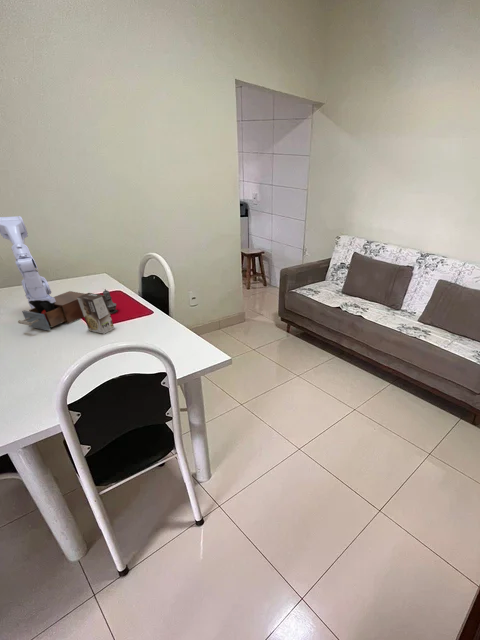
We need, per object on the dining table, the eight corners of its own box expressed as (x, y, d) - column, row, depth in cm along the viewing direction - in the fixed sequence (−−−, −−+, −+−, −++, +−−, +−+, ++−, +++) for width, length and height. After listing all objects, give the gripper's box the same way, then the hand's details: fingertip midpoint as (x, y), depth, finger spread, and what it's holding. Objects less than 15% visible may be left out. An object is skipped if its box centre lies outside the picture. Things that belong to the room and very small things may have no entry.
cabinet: (69, 323, 153) (61, 305, 148) (48, 319, 156) (40, 301, 151) (95, 311, 166) (89, 294, 161) (75, 307, 168) (69, 291, 163)
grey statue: (113, 314, 163) (106, 291, 157) (102, 313, 164) (95, 290, 157) (120, 310, 168) (114, 287, 161) (110, 308, 169) (103, 286, 162)
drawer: (37, 335, 141) (30, 319, 137) (17, 330, 143) (10, 315, 139) (75, 317, 156) (70, 303, 152) (57, 314, 159) (51, 300, 155)
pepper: (51, 317, 153) (46, 305, 150) (58, 319, 151) (53, 307, 148) (41, 320, 149) (36, 308, 146) (48, 322, 148) (43, 310, 145)
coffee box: (115, 328, 150) (105, 295, 142) (103, 334, 145) (92, 299, 136) (99, 325, 153) (88, 292, 144) (88, 330, 147) (76, 296, 139)
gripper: (13, 287, 140) (27, 316, 147) (39, 291, 137) (52, 321, 144) (29, 282, 146) (41, 310, 153) (54, 286, 142) (66, 315, 150)
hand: (47, 315), depth 149 cm, fingers closed on pepper, 4 cm apart
